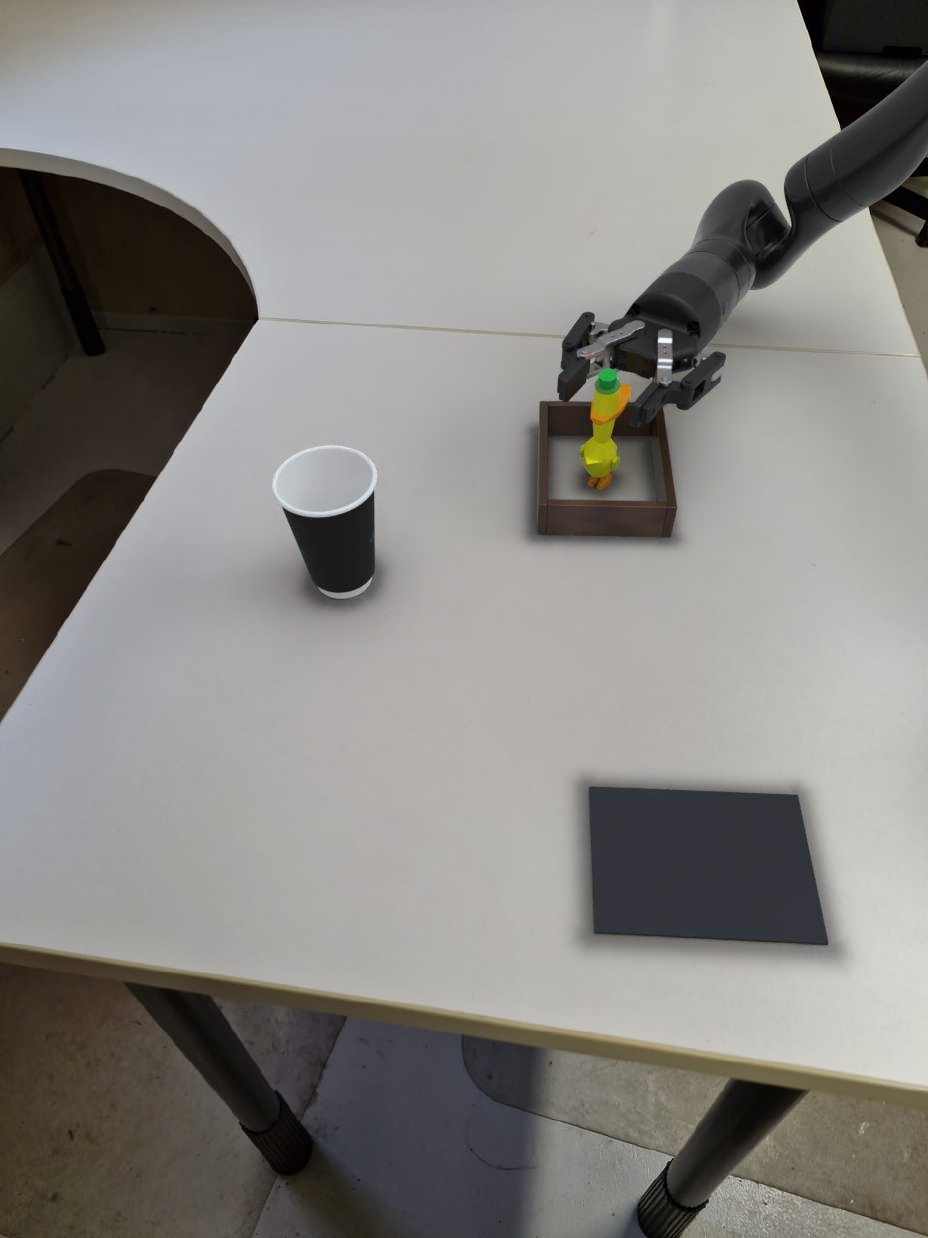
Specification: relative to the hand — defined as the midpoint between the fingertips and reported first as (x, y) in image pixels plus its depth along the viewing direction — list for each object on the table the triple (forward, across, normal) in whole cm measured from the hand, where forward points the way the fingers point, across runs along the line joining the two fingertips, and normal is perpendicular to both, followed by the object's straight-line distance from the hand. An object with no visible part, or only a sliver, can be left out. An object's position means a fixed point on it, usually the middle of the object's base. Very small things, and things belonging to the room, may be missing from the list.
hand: (597, 404), depth 70 cm
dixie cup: (+20, +13, -10) cm, 26 cm away
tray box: (-2, 0, -10) cm, 10 cm away
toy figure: (-2, 0, -10) cm, 10 cm away
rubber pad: (+27, -23, -10) cm, 37 cm away
